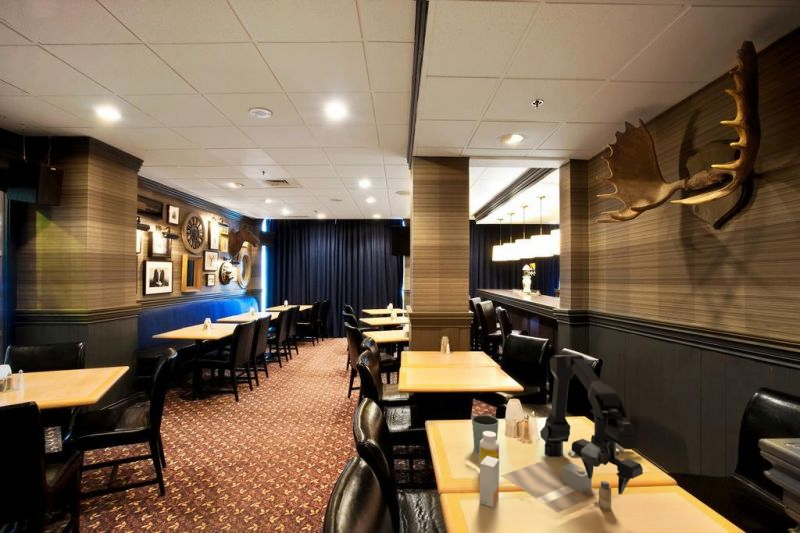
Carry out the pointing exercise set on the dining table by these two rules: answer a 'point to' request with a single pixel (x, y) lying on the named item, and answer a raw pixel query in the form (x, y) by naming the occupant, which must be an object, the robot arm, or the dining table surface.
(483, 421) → the grey green cup
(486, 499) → the skincare box
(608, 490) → the tan small bottle
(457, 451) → the dining table surface
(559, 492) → the board
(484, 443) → the supplement bottle
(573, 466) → the block
